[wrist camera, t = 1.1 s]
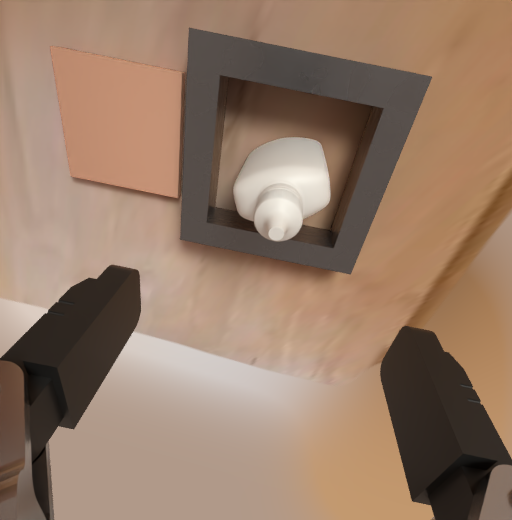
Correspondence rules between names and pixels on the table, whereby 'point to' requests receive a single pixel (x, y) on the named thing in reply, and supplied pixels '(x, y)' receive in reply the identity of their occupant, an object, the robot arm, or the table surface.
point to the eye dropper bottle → (282, 186)
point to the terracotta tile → (121, 120)
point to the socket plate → (305, 80)
